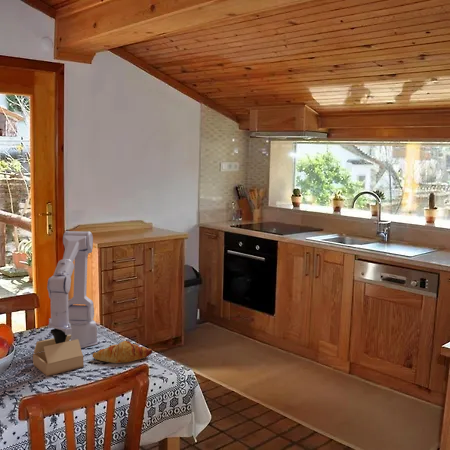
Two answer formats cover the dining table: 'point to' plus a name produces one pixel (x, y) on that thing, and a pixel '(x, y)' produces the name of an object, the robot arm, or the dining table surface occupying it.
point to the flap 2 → (62, 351)
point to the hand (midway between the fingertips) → (60, 349)
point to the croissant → (122, 353)
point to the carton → (56, 364)
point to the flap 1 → (47, 343)
